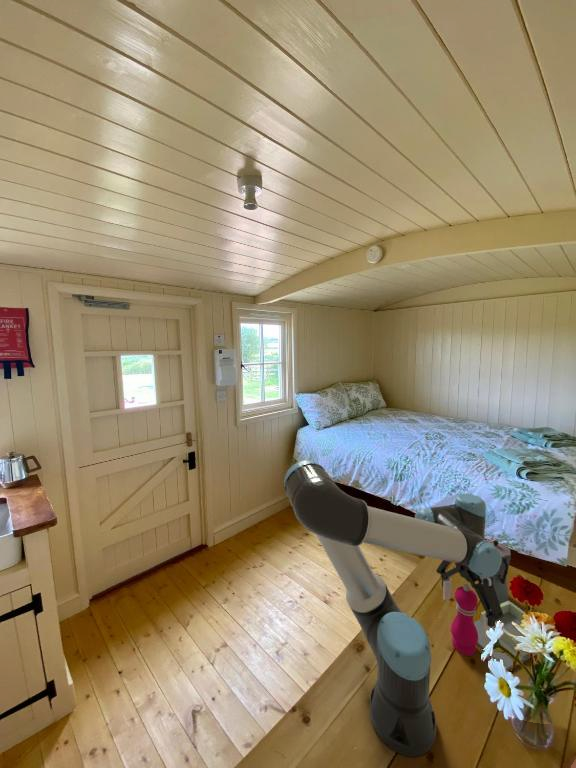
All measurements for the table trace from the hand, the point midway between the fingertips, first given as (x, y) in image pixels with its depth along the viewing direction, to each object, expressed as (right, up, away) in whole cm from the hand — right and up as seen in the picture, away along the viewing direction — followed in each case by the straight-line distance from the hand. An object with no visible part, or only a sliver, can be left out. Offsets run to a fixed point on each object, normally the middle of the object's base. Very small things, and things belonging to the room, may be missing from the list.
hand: (465, 615), depth 96 cm
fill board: (+14, -9, +3) cm, 17 cm away
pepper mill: (0, -10, +1) cm, 10 cm away
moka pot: (+21, -8, +20) cm, 30 cm away
